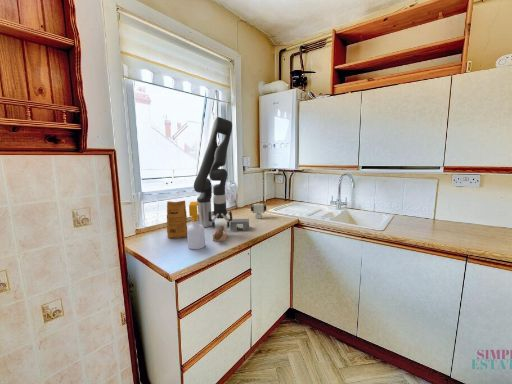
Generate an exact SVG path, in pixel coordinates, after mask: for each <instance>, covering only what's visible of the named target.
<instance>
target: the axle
mask: <svg viewBox="0 0 512 384" xmlns="http://www.w3.org/2000/svg"><path fill="white" fill-rule="evenodd" d="M216 230H217V232H216V234H215V236H214V238H215V239H216V240H219V239H220V238H221V235H222V233H223V232H224V230H225V226H224V225H223V224H220V225H219V226H218V227H217V229H216Z"/></svg>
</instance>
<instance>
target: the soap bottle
mask: <svg viewBox="0 0 512 384" xmlns="http://www.w3.org/2000/svg"><path fill="white" fill-rule="evenodd" d="M188 210H189V211H188V213H189V214H188V215H189V217H192V219H191V224H190V225H189V226H187V236H186V237H187V247H188V249H189V250H190V249H191V250H199V249H203V248H205V246H206V236H205V235H206V233H205V227H203V226H202V225H200V224H199V223H198V218H197V216H198V215H199V214H197V213H198V202H197V201H190V203H189V204H188Z"/></svg>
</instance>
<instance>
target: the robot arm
mask: <svg viewBox="0 0 512 384" xmlns="http://www.w3.org/2000/svg"><path fill="white" fill-rule="evenodd" d="M232 131H233V122H232V121H231V120H229V119H226V118H223V117H220V116H217V117H216V118H215V119H214V121H213V124H212V128H211V132H210V135H209V136H210V137H209V141H208V142H207V146H206V149H205V152H204V156H203V158H202V162H201V165H200V168H199V170H198V173H197V175H196V177H195V180H194V181H193V182H194V183H193V188H194V191H195V192H196V193H200V194H199V196H198V197H196V198H197V199H196V202H198V205H197V214H199V215H198V216H197V219H198V223H199V224H200V225H202V226H203V227H204V228H208V227H212V229H215V228H216V220H217V219H224V220H225V221H226V225H227V227H226V228H227V229H228V228H229V227H230V221H232V219H233V211H232V210H227V196H226V184H227V179H228V171H227V170H226V169H225V168H221V167H224V166H225V165H226V161H227V155H228V154H227V152H228V147H229V143H230V139H231V135H232ZM218 134H221V135H224V136H223V137H224V138H223V140H222V141H221V143H219V145H218V140H217V137H218ZM208 176H209V178H208ZM211 181H216V182H219V181H220V182H219V184H215V185H212V182H211ZM212 186H213V187H212ZM212 194H213V211H212ZM227 214H228V215H229V217H228V215H227ZM213 215H214V217H213ZM212 217H213V218H212Z"/></svg>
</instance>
